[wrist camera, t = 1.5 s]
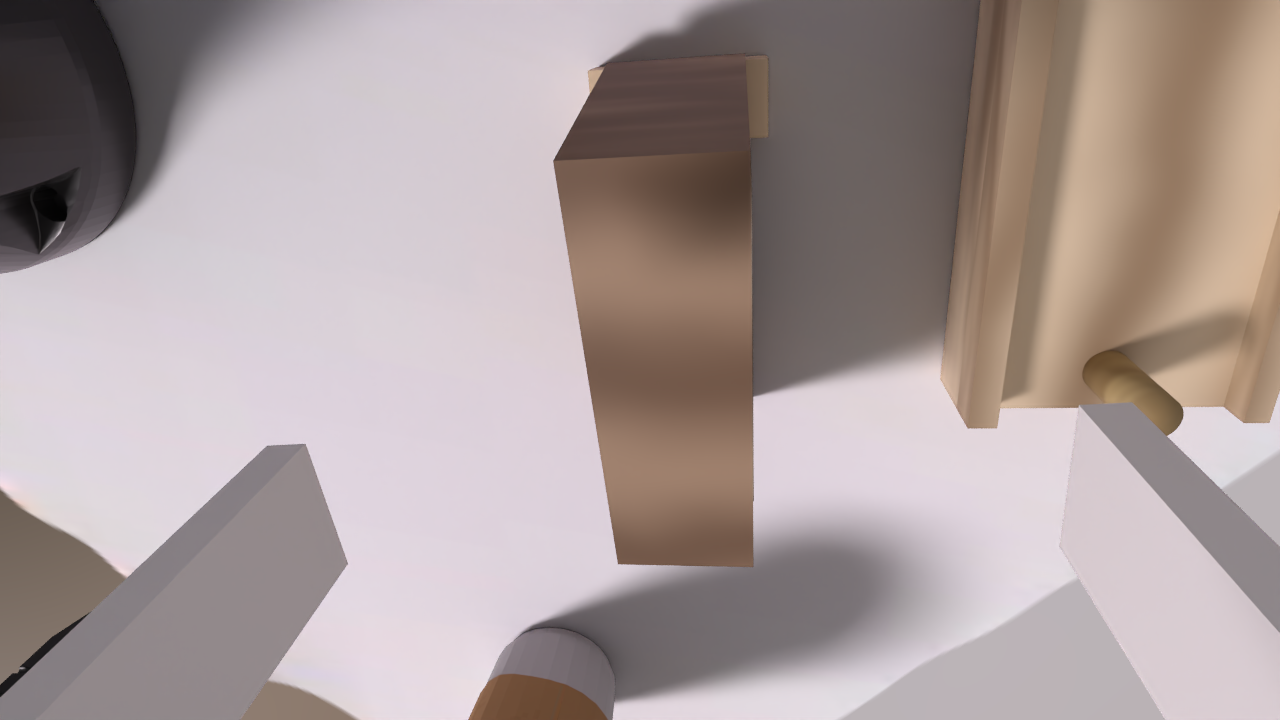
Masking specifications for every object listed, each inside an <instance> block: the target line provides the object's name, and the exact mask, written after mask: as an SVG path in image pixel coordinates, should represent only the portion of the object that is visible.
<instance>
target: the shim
mask: <svg viewBox="0 0 1280 720" xmlns="http://www.w3.org/2000/svg"><path fill="white" fill-rule="evenodd" d="M745 58H746V76H747V94H748V112H749V130H750V138H764V137H768V57H767V56H766V55H761V56H747V57H745ZM604 68H605V67H596V68H594V69H591V70H589V71H588V78H589V89H590V93H591V91H592V90H593V88H594V86H595V84H596V82H597V80H598V79H599V77H600V75H601V73H602V71H603V69H604Z"/></svg>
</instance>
